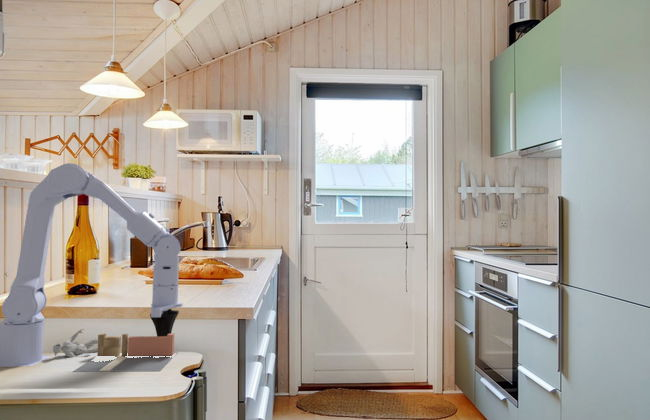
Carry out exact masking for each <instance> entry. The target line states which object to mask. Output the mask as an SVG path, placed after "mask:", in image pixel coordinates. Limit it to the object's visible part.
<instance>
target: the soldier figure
mask: <svg viewBox="0 0 650 420" xmlns="http://www.w3.org/2000/svg"><path fill="white" fill-rule="evenodd" d="M84 330H85V328H81V329H79V330H78V331H77V332H75V333H74V334H72V336H70V337H69V339H67V340H66V341H64V342H63V344H61V343H57V344H55V345H53V347H52V350H53V354H54V356H55V357H56V356H57V355H58V354H59V353H60V351H61V352H63V353H64V355H65V356H66V357H68V358H89V357H88V356H91V357H92V355H91V353H98V346H94V345H96V344H97V345H98V338H92V339H90V340H88V341H86V342H85V343H79V342H74V341H75V339H76V338H77V337H78V335H79V334H83V333H84V332H83V331H84ZM82 353H84V354H85V355H83V354H82Z"/></svg>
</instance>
